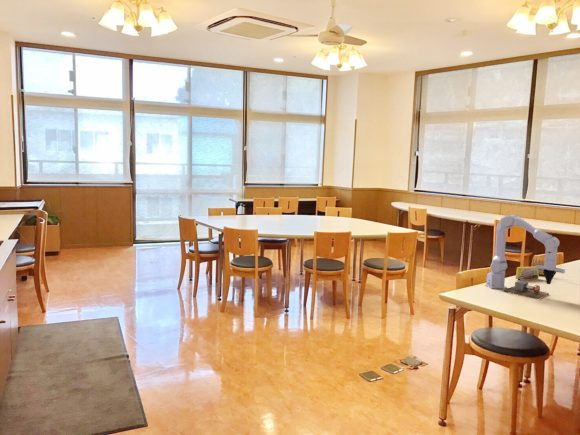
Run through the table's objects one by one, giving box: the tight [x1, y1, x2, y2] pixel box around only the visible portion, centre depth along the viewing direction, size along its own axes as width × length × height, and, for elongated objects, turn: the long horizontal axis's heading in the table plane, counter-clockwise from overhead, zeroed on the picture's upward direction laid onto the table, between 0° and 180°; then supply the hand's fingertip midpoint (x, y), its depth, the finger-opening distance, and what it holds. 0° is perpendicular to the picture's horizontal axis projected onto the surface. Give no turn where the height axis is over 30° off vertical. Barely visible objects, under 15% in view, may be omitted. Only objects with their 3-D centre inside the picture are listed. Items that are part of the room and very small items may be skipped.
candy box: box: [515, 266, 540, 280], centre depth 302 cm, size 16×2×8 cm, turn 105°
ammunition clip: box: [530, 256, 545, 278], centre depth 313 cm, size 11×2×12 cm, turn 49°
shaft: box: [524, 284, 541, 293], centre depth 268 cm, size 10×4×4 cm, turn 41°
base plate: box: [503, 285, 549, 300], centre depth 269 cm, size 19×14×1 cm
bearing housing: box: [514, 280, 529, 292], centre depth 271 cm, size 4×7×5 cm, turn 131°
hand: (548, 283), depth 260 cm, fingers closed
